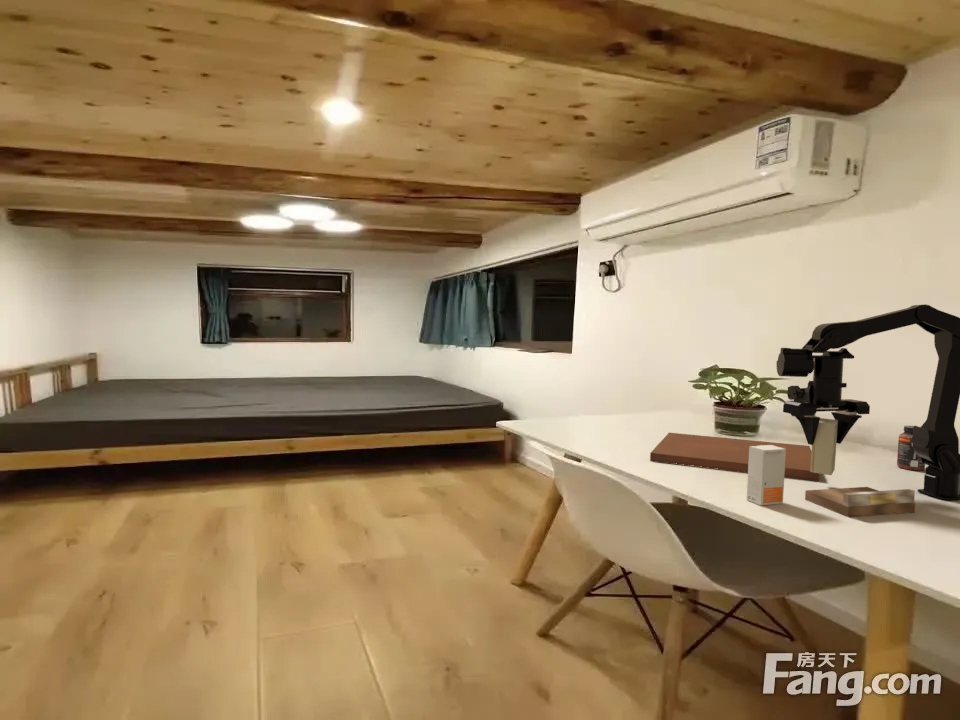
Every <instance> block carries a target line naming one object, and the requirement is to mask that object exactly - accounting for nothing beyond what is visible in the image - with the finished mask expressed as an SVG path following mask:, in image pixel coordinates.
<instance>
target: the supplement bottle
mask: <svg viewBox="0 0 960 720" xmlns="http://www.w3.org/2000/svg"><path fill="white" fill-rule="evenodd" d="M914 426H915V425H903V431H904V432H902V433H900V434H898V435H899V436H898V443H897V444H898V445H897V459H896V466H897V467H898V468H900V469H903V470H904V469H905V470H909V471H915V472H917V471H919V472H920V470H921V471H924V470H926V464H923V463H922V462H921V459H920V456H919V455H917V454H916V453H915V451H914V450H913V443H910V440H911V439H912V436H913V427H914Z"/></svg>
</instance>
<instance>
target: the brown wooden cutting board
mask: <svg viewBox="0 0 960 720" xmlns="http://www.w3.org/2000/svg"><path fill="white" fill-rule="evenodd" d="M759 445H774V446H777V447H781V448H784V449H786V458H785V474H784V478H785V479H786V478H789V479H794V480H795V479H796V480H804V481H813V482H819V481H820V474H819V473H814V472H810V467H811V451H812V448H811V447H810V446H811V445H802V444H794V443H782V442H772V441H761V440H751V439H741V438H728V437H718V436H708V435H699V434H691V433H690V434H688V433H687V434H686V433H679V432H668V433H667V434H666V435H665V436H664V438H662V440H661V441H660V442H659V443H658V444H656V446H655V447H654V448H653V449H652V450H651V452H650V455H649V456H650V457H649V462H654V461H658V462H657V463H662V462H668V463H667V464H670V463H677V464H676V465H679V464H684V465H683V466H687V465H694V466H693V467H695V466H702V467H701V468H703V467H709V468H708V469H712V468H718V469H717V470H720V469H725V470H724V471H728V470H732V471H731V472H737V471H739V472H740V473H745V472H746V473H745V474H748V463H749V447H750V446H759Z"/></svg>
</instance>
